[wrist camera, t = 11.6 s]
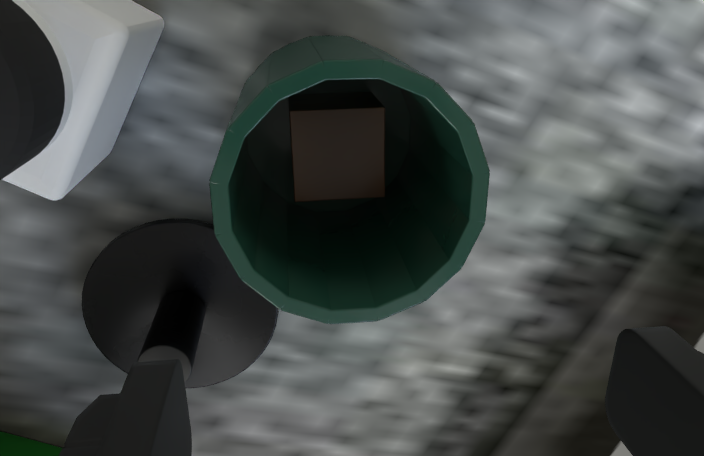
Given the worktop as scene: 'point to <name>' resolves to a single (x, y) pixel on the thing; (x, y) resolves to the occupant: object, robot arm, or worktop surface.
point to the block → (337, 146)
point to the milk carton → (25, 446)
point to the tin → (348, 214)
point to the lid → (175, 303)
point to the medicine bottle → (67, 85)
